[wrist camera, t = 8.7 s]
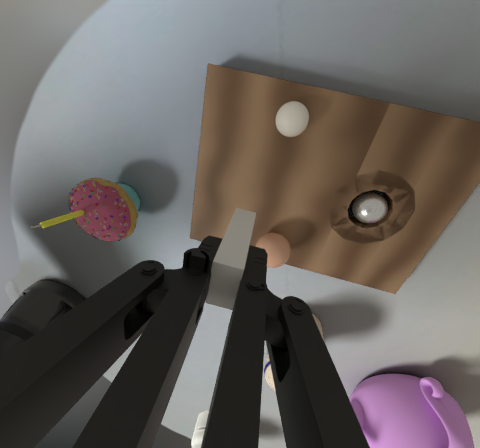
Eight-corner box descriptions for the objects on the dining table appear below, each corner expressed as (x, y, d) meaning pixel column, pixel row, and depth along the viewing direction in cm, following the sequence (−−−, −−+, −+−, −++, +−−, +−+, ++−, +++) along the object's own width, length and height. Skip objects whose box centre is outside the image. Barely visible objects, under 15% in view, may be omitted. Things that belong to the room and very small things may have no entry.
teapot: (339, 340, 38) (364, 448, 26) (479, 370, 35) (580, 505, 23) (308, 404, 48) (316, 502, 36) (415, 431, 46) (462, 546, 34)
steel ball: (381, 229, 23) (381, 224, 26) (393, 197, 22) (392, 195, 25) (346, 220, 25) (350, 216, 28) (355, 189, 24) (358, 189, 27)
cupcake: (90, 198, 34) (2, 238, 23) (112, 156, 30) (19, 181, 19) (137, 234, 35) (75, 287, 25) (164, 198, 31) (103, 243, 21)
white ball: (272, 131, 23) (271, 134, 20) (280, 98, 21) (280, 96, 19) (301, 138, 22) (303, 142, 20) (311, 105, 21) (315, 104, 18)
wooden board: (196, 229, 33) (189, 238, 31) (215, 67, 23) (207, 63, 21) (387, 280, 31) (395, 293, 29) (493, 128, 21) (517, 130, 19)
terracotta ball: (253, 249, 30) (249, 269, 26) (261, 222, 28) (257, 240, 24) (284, 258, 29) (284, 279, 26) (294, 231, 27) (296, 250, 24)
